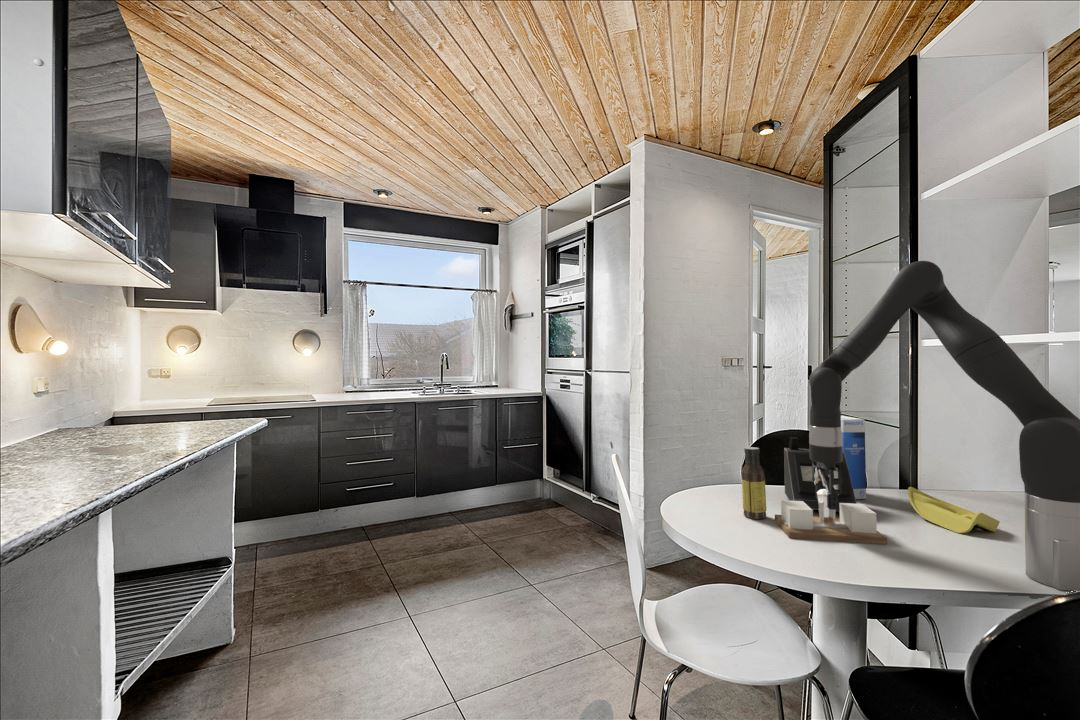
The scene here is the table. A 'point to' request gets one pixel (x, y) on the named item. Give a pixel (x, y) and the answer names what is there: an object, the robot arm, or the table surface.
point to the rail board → (830, 532)
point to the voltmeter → (810, 477)
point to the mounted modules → (850, 515)
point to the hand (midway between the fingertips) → (826, 504)
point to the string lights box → (855, 452)
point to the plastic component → (949, 513)
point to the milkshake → (825, 509)
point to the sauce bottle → (753, 485)
